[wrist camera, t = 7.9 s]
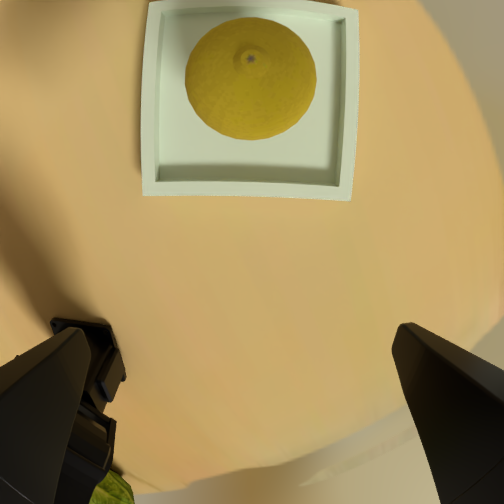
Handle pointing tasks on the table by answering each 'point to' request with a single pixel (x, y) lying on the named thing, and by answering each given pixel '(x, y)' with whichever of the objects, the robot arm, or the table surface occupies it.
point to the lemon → (250, 78)
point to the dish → (246, 151)
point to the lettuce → (112, 491)
